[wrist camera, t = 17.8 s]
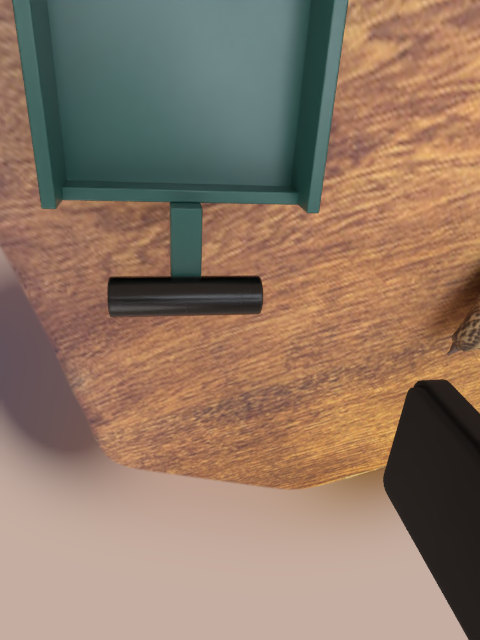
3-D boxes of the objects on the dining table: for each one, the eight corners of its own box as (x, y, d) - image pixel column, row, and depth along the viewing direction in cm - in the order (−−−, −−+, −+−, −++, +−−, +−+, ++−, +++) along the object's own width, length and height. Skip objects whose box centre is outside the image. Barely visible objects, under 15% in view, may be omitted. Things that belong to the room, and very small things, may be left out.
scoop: (287, 286, 22) (308, 319, 19) (69, 288, 20) (54, 326, 17) (358, -333, 13) (420, -457, 10) (-18, -420, 11) (-81, -601, 8)
